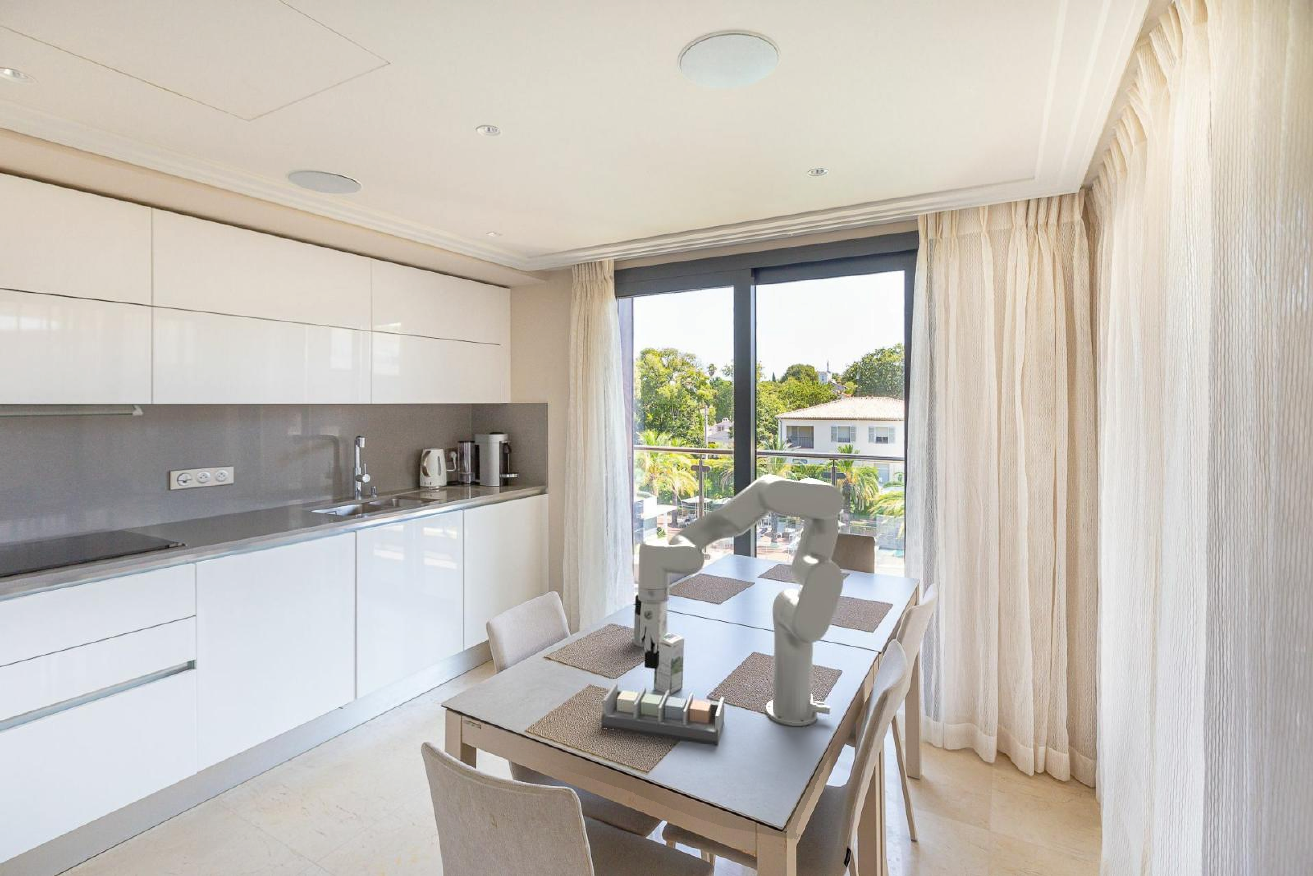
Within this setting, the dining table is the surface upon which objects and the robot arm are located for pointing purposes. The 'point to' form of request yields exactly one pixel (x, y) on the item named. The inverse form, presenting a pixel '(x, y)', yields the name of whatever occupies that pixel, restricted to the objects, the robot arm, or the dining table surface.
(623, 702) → the cream block
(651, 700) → the key sage
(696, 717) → the light orange square block
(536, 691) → the dining table surface
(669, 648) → the syrup box
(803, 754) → the dining table surface
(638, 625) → the glass holder
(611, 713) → the slotted cube rack
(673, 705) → the pale blue block
